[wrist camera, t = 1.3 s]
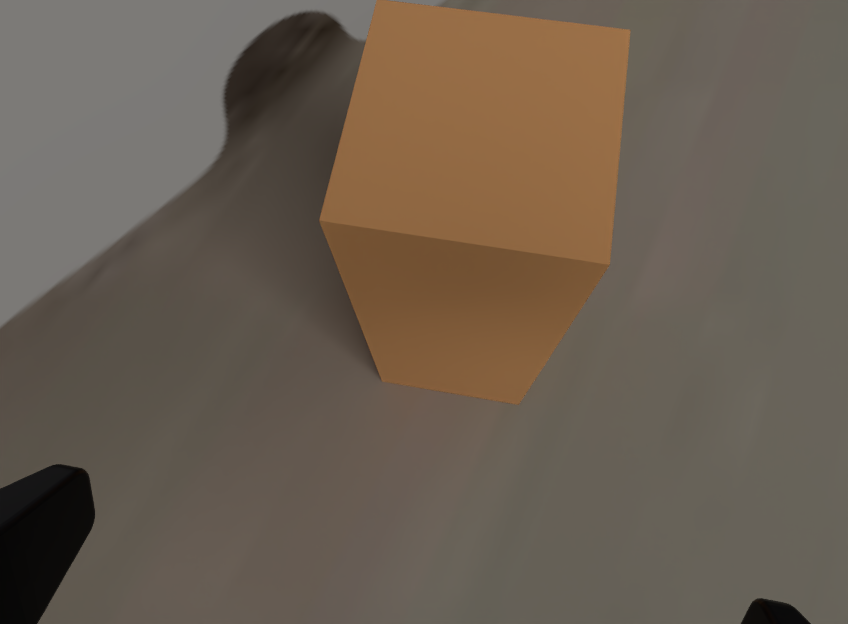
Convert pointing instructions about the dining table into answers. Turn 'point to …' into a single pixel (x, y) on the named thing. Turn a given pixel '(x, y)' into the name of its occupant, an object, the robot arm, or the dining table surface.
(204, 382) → the dining table surface
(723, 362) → the dining table surface
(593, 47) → the orange brick
